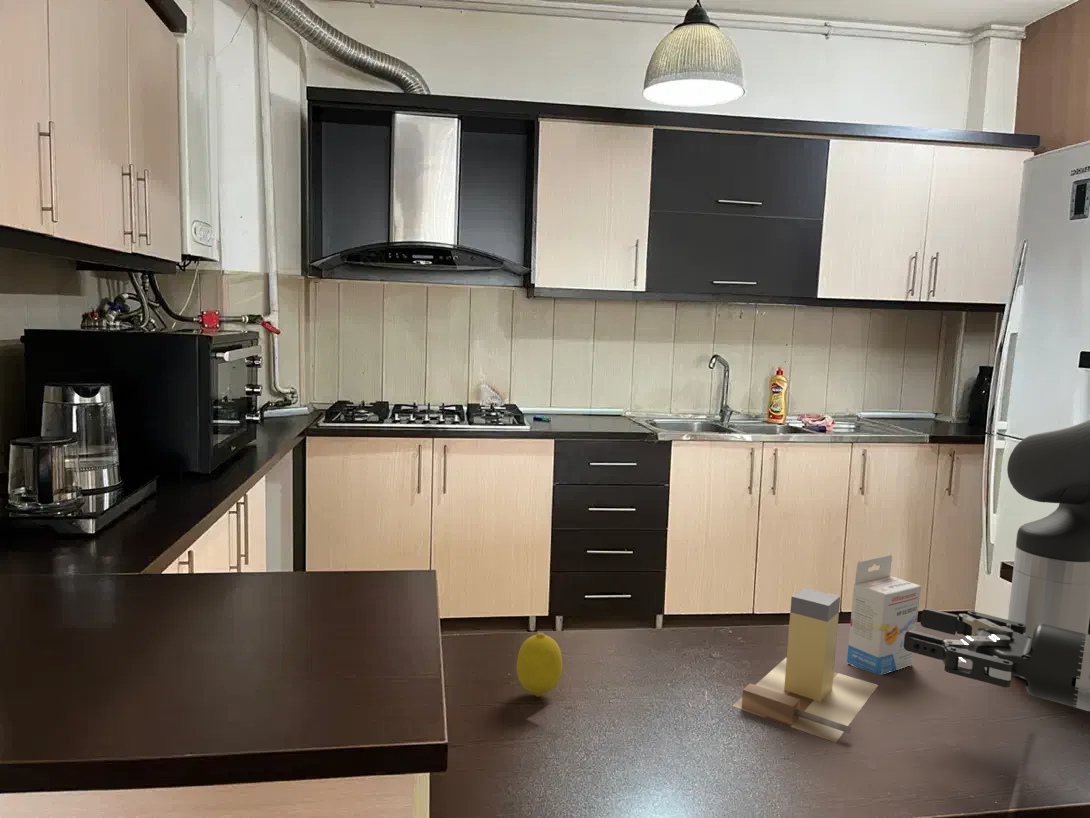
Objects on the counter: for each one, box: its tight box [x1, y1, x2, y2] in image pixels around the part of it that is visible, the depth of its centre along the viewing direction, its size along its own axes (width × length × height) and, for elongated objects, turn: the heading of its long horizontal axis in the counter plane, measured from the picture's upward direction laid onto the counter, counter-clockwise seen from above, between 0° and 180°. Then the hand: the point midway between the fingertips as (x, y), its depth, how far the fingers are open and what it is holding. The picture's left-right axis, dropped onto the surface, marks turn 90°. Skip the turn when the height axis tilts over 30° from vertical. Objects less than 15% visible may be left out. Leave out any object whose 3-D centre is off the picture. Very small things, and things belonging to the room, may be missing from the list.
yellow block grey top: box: [784, 587, 841, 702], centre depth 95 cm, size 4×4×12 cm
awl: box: [741, 682, 852, 734], centre depth 88 cm, size 2×12×2 cm, turn 53°
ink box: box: [846, 554, 922, 676], centre depth 106 cm, size 8×5×15 cm, turn 123°
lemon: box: [516, 632, 563, 698], centre depth 93 cm, size 6×6×8 cm
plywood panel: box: [731, 657, 879, 743], centre depth 94 cm, size 18×12×1 cm, turn 143°
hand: (913, 627), depth 88 cm, fingers open, 8 cm apart
